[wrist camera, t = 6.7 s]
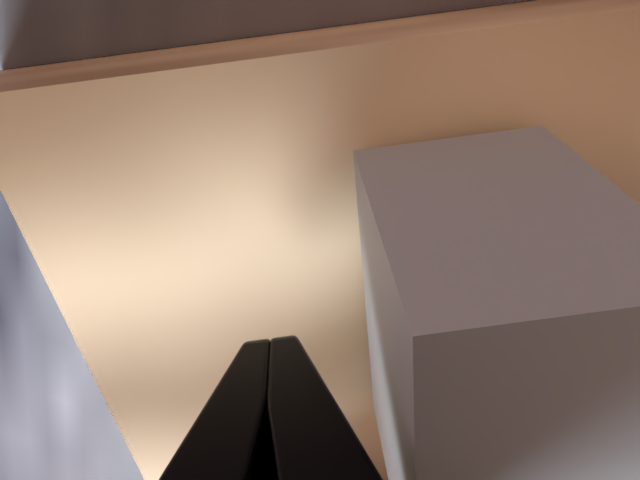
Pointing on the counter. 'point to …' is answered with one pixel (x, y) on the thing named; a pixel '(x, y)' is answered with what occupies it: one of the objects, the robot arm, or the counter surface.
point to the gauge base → (274, 183)
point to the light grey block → (500, 309)
